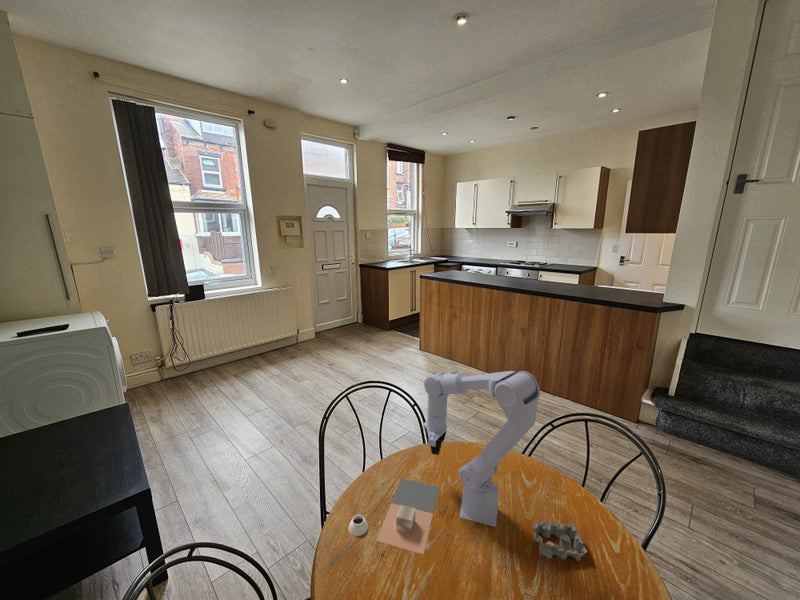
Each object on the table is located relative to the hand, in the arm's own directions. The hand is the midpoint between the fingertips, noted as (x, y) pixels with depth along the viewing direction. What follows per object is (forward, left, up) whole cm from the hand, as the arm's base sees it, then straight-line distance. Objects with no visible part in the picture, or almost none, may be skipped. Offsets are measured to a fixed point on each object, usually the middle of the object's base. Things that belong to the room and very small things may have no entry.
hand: (435, 453), depth 98 cm
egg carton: (-33, +13, -10) cm, 37 cm away
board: (+4, +13, -9) cm, 17 cm away
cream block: (+4, +19, -9) cm, 21 cm away
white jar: (+16, +23, -10) cm, 29 cm away
